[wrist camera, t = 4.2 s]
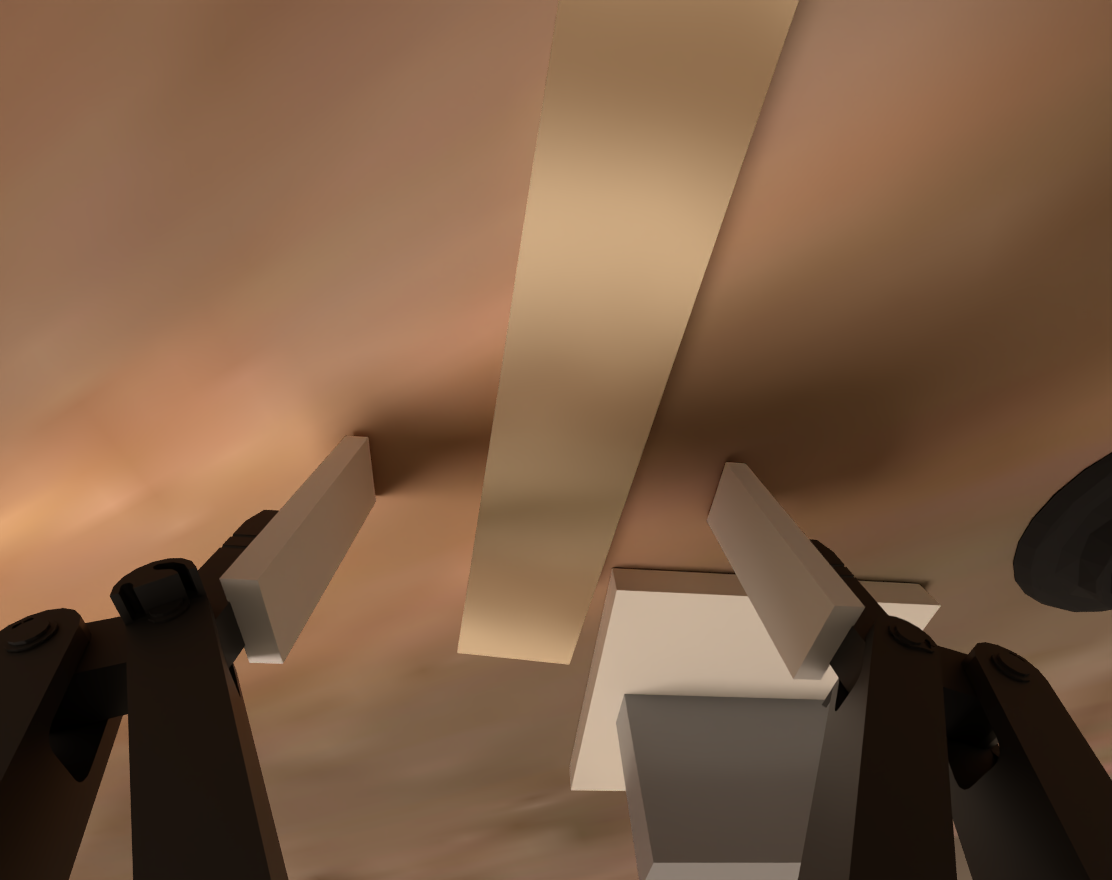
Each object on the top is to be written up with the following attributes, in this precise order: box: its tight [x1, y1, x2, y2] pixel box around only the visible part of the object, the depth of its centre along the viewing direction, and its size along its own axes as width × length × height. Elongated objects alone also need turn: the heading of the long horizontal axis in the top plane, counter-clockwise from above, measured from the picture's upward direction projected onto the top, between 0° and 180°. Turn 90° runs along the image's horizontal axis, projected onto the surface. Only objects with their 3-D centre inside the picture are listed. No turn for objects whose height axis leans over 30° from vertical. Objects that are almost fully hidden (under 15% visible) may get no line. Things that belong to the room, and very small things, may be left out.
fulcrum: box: [570, 568, 941, 880], centre depth 19 cm, size 16×14×7 cm
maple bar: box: [457, 0, 799, 664], centre depth 12 cm, size 20×4×4 cm, turn 168°
